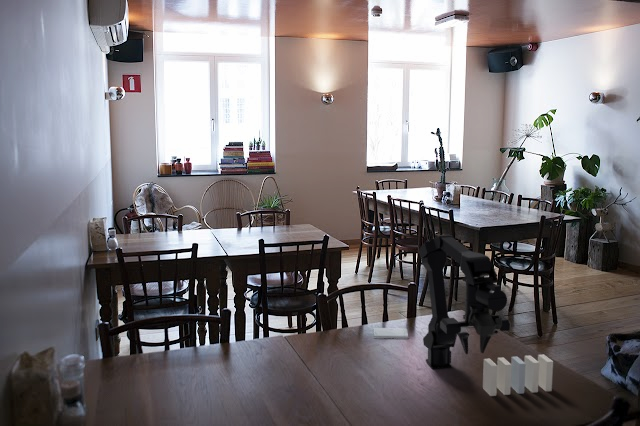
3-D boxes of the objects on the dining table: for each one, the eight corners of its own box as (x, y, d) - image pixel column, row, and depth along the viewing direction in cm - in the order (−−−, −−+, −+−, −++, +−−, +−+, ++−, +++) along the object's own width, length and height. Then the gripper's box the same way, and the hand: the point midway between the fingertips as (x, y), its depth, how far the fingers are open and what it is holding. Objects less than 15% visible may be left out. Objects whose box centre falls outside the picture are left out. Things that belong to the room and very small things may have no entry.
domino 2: (504, 394, 158) (505, 365, 157) (496, 386, 163) (497, 357, 161) (510, 394, 158) (511, 364, 157) (502, 386, 163) (503, 357, 162)
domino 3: (518, 393, 159) (519, 363, 157) (510, 385, 163) (511, 356, 162) (524, 393, 159) (525, 363, 157) (515, 385, 164) (517, 356, 162)
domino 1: (490, 396, 157) (491, 366, 156) (482, 388, 162) (483, 358, 161) (496, 395, 158) (497, 365, 156) (488, 387, 163) (489, 358, 161)
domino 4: (532, 392, 159) (533, 362, 158) (523, 384, 164) (524, 355, 163) (537, 392, 159) (539, 362, 158) (529, 384, 164) (530, 355, 163)
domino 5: (545, 391, 160) (547, 361, 158) (536, 383, 165) (538, 354, 163) (551, 390, 160) (553, 361, 159) (542, 383, 165) (543, 354, 163)
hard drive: (373, 335, 201) (408, 335, 200) (373, 327, 209) (406, 327, 208) (373, 339, 201) (408, 340, 200) (373, 331, 209) (406, 331, 208)
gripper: (454, 311, 146) (453, 367, 148) (521, 307, 148) (519, 362, 151) (439, 298, 157) (438, 351, 159) (502, 295, 159) (500, 346, 162)
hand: (474, 353), depth 157 cm, fingers open, 4 cm apart
